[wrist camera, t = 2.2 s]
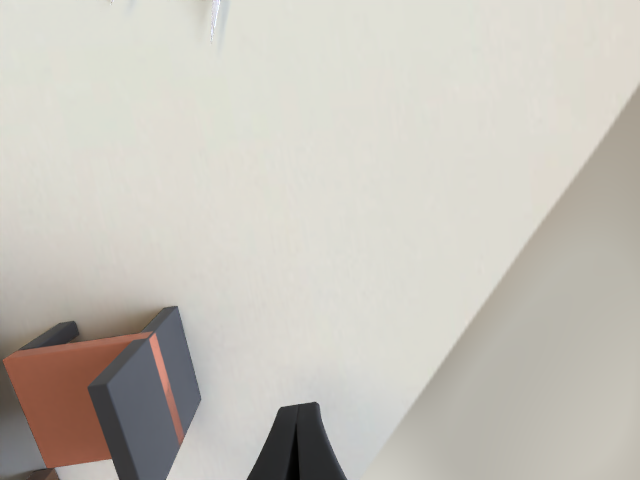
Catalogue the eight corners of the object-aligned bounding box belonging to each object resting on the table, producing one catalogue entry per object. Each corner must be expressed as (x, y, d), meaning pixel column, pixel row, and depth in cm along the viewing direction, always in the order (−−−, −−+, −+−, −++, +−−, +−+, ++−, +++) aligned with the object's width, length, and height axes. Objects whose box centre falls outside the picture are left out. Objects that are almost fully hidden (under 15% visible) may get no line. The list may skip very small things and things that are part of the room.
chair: (201, 399, 18) (150, 515, 12) (92, 415, 17) (-15, 540, 12) (177, 305, 16) (107, 384, 10) (59, 322, 16) (-79, 411, 10)
